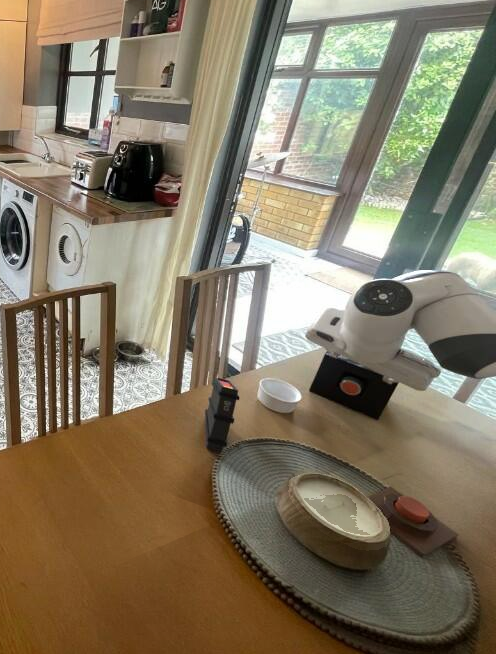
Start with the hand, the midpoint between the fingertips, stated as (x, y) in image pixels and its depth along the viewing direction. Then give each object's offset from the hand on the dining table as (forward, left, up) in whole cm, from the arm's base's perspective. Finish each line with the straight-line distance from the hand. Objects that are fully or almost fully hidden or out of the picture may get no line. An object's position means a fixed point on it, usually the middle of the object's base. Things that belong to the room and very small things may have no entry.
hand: (360, 367), depth 88 cm
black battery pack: (+9, +27, -18) cm, 34 cm away
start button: (-20, +13, -14) cm, 28 cm away
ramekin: (+11, +4, -18) cm, 22 cm away
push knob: (+4, -10, -13) cm, 17 cm away
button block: (-20, +13, -18) cm, 30 cm away
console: (+7, -17, -18) cm, 26 cm away
